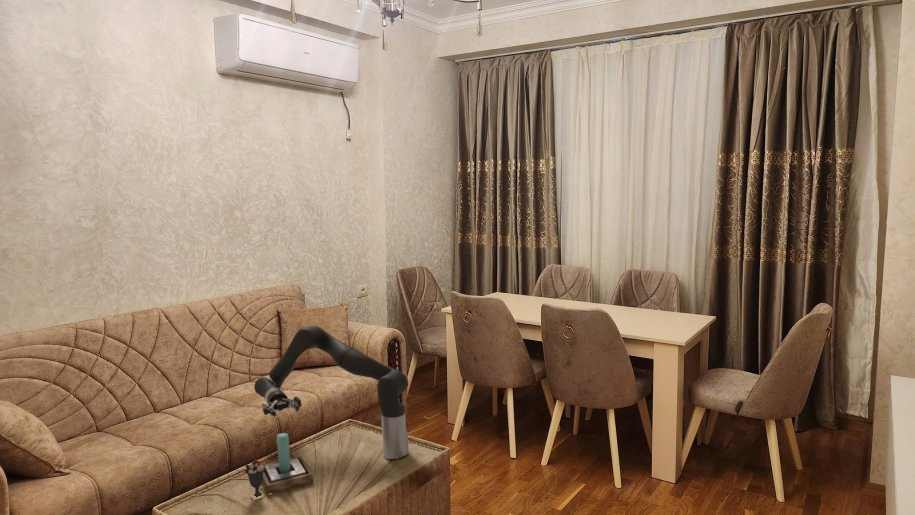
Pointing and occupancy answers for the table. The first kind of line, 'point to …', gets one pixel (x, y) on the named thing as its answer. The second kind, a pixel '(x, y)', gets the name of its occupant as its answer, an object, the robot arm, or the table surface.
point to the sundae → (255, 475)
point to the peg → (283, 453)
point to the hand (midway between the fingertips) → (286, 411)
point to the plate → (275, 475)
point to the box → (290, 482)
